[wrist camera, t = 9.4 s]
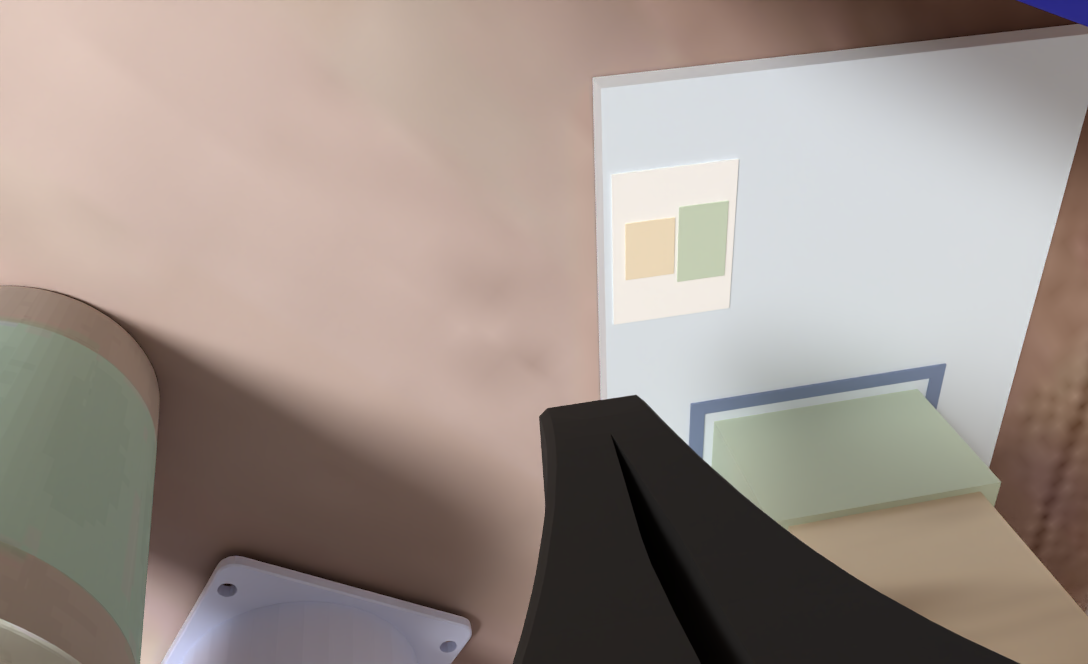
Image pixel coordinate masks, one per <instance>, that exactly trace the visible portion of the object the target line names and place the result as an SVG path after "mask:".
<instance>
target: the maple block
mask: <svg viewBox="0 0 1088 664" xmlns="http://www.w3.org/2000/svg"><path fill="white" fill-rule="evenodd" d="M788 531H789V532H790V533H791V534H793V535H794V536H795V537H797V538H798V539H799V540H801V541H802V542H803V543H805V544H806V545H808V546H809V547H810V548H812V549H813V550H815V551H816V552H817V553H819V554H820V555H822V556H824V557H825V558H827V559H828V560H830V561H831V562H833V563H834V564H836V565H837V566H839V567H840V568H842V569H843V570H845V571H846V572H848V573H849V574H851V575H852V576H854V577H855V578H857V579H859V580H860V581H862V582H864V583H865V584H867V585H869V586H870V587H872V588H874V589H875V590H877V591H879V592H880V593H882V594H884V595H886V596H888V597H889V598H891V599H893V600H895V601H897V602H898V603H900V604H902V605H904V606H906V607H907V608H909V609H911V610H913V611H915V612H916V613H918V614H920V615H922V616H924V617H925V618H927V619H929V620H931V621H933V622H935V623H937V624H939V625H941V626H943V627H945V628H946V629H948V630H950V631H952V632H954V633H956V634H958V635H960V636H962V637H964V638H966V639H969V640H971V641H973V642H975V643H977V644H979V645H981V646H984V647H986V648H988V649H990V650H992V651H994V652H996V653H999V654H1001V655H1003V656H1005V657H1007V658H1009V659H1011V660H1014V661H1016V662H1018V663H1020V664H1088V616H1087V615H1086V614H1085V613H1084V611H1083V610H1082V609H1081V608H1080V607H1079V606H1078V604H1077V603H1076V602H1075V601H1074V600H1073V599H1072V597H1071V596H1070V595H1069V594H1068V593H1067V592H1066V590H1065V589H1064V588H1063V587H1062V586H1061V585H1060V583H1059V582H1058V581H1057V580H1056V579H1055V578H1054V576H1053V575H1052V574H1051V573H1050V572H1049V571H1048V569H1047V568H1046V567H1045V566H1044V565H1043V564H1042V563H1041V561H1040V560H1039V559H1038V558H1037V557H1036V556H1035V554H1034V553H1033V552H1032V551H1031V550H1030V549H1029V547H1028V546H1027V545H1026V544H1025V543H1024V542H1023V540H1022V539H1021V538H1020V537H1019V536H1018V535H1017V533H1016V532H1015V531H1014V530H1013V529H1012V528H1011V526H1010V525H1009V524H1008V523H1007V522H1006V521H1005V519H1004V518H1003V517H1002V516H1001V515H1000V514H999V512H998V511H997V510H996V509H995V508H994V507H993V505H992V504H991V503H990V502H989V501H988V500H987V498H986V497H985V496H984V495H983V494H982V493H981V492H974V493H969V494H963V495H958V496H952V497H947V498H942V499H936V500H931V501H925V502H920V503H914V504H909V505H903V506H898V507H892V508H887V509H881V510H876V511H870V512H865V513H859V514H854V515H848V516H843V517H837V518H832V519H826V520H821V521H816V522H810V523H805V524H799V525H794V526H788Z"/></svg>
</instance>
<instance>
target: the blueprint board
mask: <svg viewBox="0 0 1088 664" xmlns="http://www.w3.org/2000/svg"><path fill="white" fill-rule="evenodd" d="M1087 107H1088V27H1087V26H1084V25H1081V24H1073V25H1064V26H1055V27H1045V28H1036V29H1027V30H1018V31H1009V32H1000V33H991V34H982V35H973V36H964V37H955V38H946V39H937V40H928V41H919V42H910V43H901V44H891V45H882V46H873V47H864V48H855V49H846V50H837V51H828V52H819V53H810V54H801V55H792V56H783V57H774V58H765V59H756V60H746V61H737V62H728V63H719V64H710V65H701V66H692V67H683V68H674V69H665V70H656V71H647V72H638V73H629V74H620V75H611V76H602V77H593V116H594V156H595V196H596V237H597V277H598V317H599V357H600V398H601V400H605V399H611V398H618V397H624V396H631V395H637V396H639V397H640V398H641V399H642V400H644V401H645V402H646V403H647V404H648V405H649V406H650V407H651V408H652V409H653V411H654V412H655V413H656V414H657V415H658V416H659V417H660V418H661V419H662V420H663V421H664V422H665V423H666V424H667V425H668V426H669V427H670V428H671V429H672V430H673V431H674V432H675V433H676V434H677V435H678V436H679V437H680V438H681V439H682V440H683V441H684V442H685V443H686V444H687V445H689V446H690V447H691V448H692V449H693V450H694V451H695V452H696V453H697V454H698V455H699V456H700V457H701V458H702V459H703V460H704V461H705V462H706V463H708V464H709V465H710V466H712V449H713V432H714V421H720V420H726V419H732V418H739V417H745V416H751V415H757V414H764V413H770V412H776V411H782V410H789V409H795V408H801V407H807V406H814V405H820V404H826V403H832V402H838V401H845V400H851V399H857V398H863V397H870V396H876V395H882V394H888V393H895V392H901V391H907V390H913V389H918V390H919V391H920V392H921V393H922V394H923V396H924V397H925V398H926V399H927V400H928V401H929V402H930V403H931V404H932V406H933V407H934V408H935V409H936V410H937V411H938V412H939V413H940V414H941V416H942V417H943V418H944V419H945V420H946V421H947V422H948V423H949V424H950V426H951V427H952V428H953V429H954V430H955V431H956V432H957V433H958V434H959V436H960V437H961V438H962V439H963V440H964V441H965V442H966V443H967V444H968V446H969V447H970V448H971V449H972V450H973V451H974V452H975V453H976V454H977V456H978V457H979V458H980V459H981V460H982V461H983V462H984V463H985V464H986V466H987V467H988V468H989V466H990V463H991V459H992V455H993V452H994V448H995V444H996V441H997V437H998V433H999V430H1000V426H1001V422H1002V419H1003V415H1004V411H1005V408H1006V404H1007V400H1008V397H1009V393H1010V389H1011V386H1012V382H1013V378H1014V375H1015V371H1016V367H1017V364H1018V360H1019V356H1020V353H1021V349H1022V345H1023V342H1024V338H1025V334H1026V331H1027V327H1028V323H1029V320H1030V316H1031V312H1032V309H1033V305H1034V301H1035V298H1036V294H1037V290H1038V287H1039V283H1040V279H1041V276H1042V272H1043V268H1044V265H1045V261H1046V257H1047V254H1048V250H1049V246H1050V243H1051V239H1052V235H1053V232H1054V228H1055V224H1056V221H1057V217H1058V213H1059V210H1060V206H1061V202H1062V199H1063V195H1064V191H1065V188H1066V184H1067V180H1068V177H1069V173H1070V169H1071V166H1072V162H1073V158H1074V155H1075V151H1076V147H1077V144H1078V140H1079V136H1080V133H1081V129H1082V125H1083V122H1084V118H1085V114H1086V111H1087Z"/></svg>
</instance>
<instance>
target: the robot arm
mask: <svg viewBox="0 0 1088 664" xmlns="http://www.w3.org/2000/svg"><path fill="white" fill-rule="evenodd" d="M539 420H540V434H541V449H542V463H543V477H544V491H545V518H544V526H543V533H542V539H541V546H540V552H539V558H538V564H537V570H536V576H535V580H534V585H533V590H532V594H531V599H530V603H529V607H528V611H527V615H526V619H525V623H524V627H523V631H522V635H521V638H520V641H519V645H518V648H517V651H516V655H515V658H514V661H513V664H1020V663H1018V662H1016V661H1014V660H1011V659H1009V658H1007V657H1005V656H1003V655H1001V654H999V653H996V652H994V651H992V650H990V649H988V648H986V647H984V646H981V645H979V644H977V643H975V642H973V641H971V640H969V639H966V638H964V637H962V636H960V635H958V634H956V633H954V632H952V631H950V630H948V629H946V628H945V627H943V626H941V625H939V624H937V623H935V622H933V621H931V620H929V619H927V618H925V617H924V616H922V615H920V614H918V613H916V612H915V611H913V610H911V609H909V608H907V607H906V606H904V605H902V604H900V603H898V602H897V601H895V600H893V599H891V598H889V597H888V596H886V595H884V594H882V593H880V592H879V591H877V590H875V589H874V588H872V587H870V586H869V585H867V584H865V583H864V582H862V581H860V580H859V579H857V578H855V577H854V576H852V575H851V574H849V573H848V572H846V571H845V570H843V569H842V568H840V567H839V566H837V565H836V564H834V563H833V562H831V561H830V560H828V559H827V558H825V557H824V556H822V555H820V554H819V553H817V552H816V551H815V550H813V549H812V548H810V547H809V546H808V545H806V544H805V543H803V542H802V541H801V540H799V539H798V538H797V537H795V536H794V535H793V534H791V533H790V532H789V531H787V530H786V529H785V528H784V527H782V526H781V525H780V524H778V523H777V522H776V521H775V520H773V519H772V518H771V517H770V516H768V515H767V514H766V513H764V512H763V511H762V510H761V509H759V508H758V507H757V506H756V505H755V504H753V503H752V502H751V501H750V500H749V499H747V498H746V497H745V496H744V495H743V494H741V493H740V492H739V491H738V490H737V489H736V488H735V487H733V486H732V485H731V484H730V483H729V482H728V481H727V480H726V479H724V478H723V477H722V476H721V475H720V474H719V473H718V472H716V471H715V470H714V469H713V468H712V467H711V466H710V465H709V464H708V463H706V462H705V461H704V460H703V459H702V458H701V457H700V456H699V455H698V454H697V453H696V452H695V451H694V450H693V449H692V448H691V447H690V446H689V445H687V444H686V443H685V442H684V441H683V440H682V439H681V438H680V437H679V436H678V435H677V434H676V433H675V432H674V431H673V430H672V429H671V428H670V427H669V426H668V425H667V424H666V423H665V422H664V421H663V420H662V419H661V418H660V417H659V416H658V415H657V414H656V413H655V412H654V411H653V409H652V408H651V407H650V406H649V405H648V404H647V403H646V402H645V401H644V400H642V399H641V398H640V397H639V396H637V395H631V396H624V397H618V398H611V399H605V400H598V401H592V402H585V403H579V404H573V405H566V406H560V407H553V408H547V409H546V410H545V411H544V412H543V413H542V414H541V415H540V416H539ZM225 583H229V584H233V585H232V586H224V585H222V584H225ZM471 635H472V630H471V624H470V622H469V620H468V619H466V618H464V617H462V616H458V615H454V614H451V613H447V612H443V611H440V610H436V609H432V608H429V607H425V606H421V605H418V604H414V603H410V602H407V601H403V600H400V599H396V598H392V597H389V596H385V595H381V594H378V593H374V592H370V591H367V590H363V589H359V588H356V587H352V586H348V585H345V584H341V583H337V582H334V581H330V580H326V579H323V578H319V577H316V576H312V575H308V574H305V573H301V572H297V571H294V570H290V569H286V568H283V567H279V566H275V565H272V564H268V563H264V562H261V561H257V560H253V559H250V558H246V557H242V556H230V557H227V558H225V559H222V560H221V561H220V562H219V564H218V565H217V567H216V568H215V570H214V572H213V574H212V575H211V577H210V579H209V581H208V582H207V584H206V586H205V588H204V589H203V591H202V593H201V594H200V596H199V598H198V600H197V601H196V603H195V605H194V607H193V608H192V610H191V612H190V614H189V615H188V617H187V619H186V621H185V622H184V624H183V626H182V628H181V629H180V631H179V633H178V634H177V636H176V638H175V640H174V641H173V643H172V645H171V647H170V648H169V650H168V652H167V654H166V655H165V657H164V659H163V661H162V662H161V664H451V663H452V662H453V660H454V659H455V658H456V657H457V655H458V654H459V653H460V651H461V650H462V649H463V647H464V646H465V645H466V643H467V642H468V641H469V639H470V638H471ZM446 641H450V642H446Z"/></svg>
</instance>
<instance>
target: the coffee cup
mask: <svg viewBox="0 0 1088 664" xmlns="http://www.w3.org/2000/svg"><path fill="white" fill-rule="evenodd" d="M159 407H160V394H159V387H158V382H157V378H156V375H155V372H154V370H153V367H152V365H151V363H150V361H149V360H148V358H147V356H146V354H145V353H144V351H143V350H142V348H141V347H140V346H139V345H138V343H137V342H136V341H135V340H134V339H133V338H132V337H131V335H130V334H128V333H127V332H126V331H125V330H124V329H123V328H122V327H121V326H120V325H118V324H117V323H116V322H115V321H113V320H112V319H111V318H109V317H108V316H106V315H104V314H103V313H101V312H100V311H98V310H96V309H94V308H93V307H91V306H89V305H87V304H85V303H83V302H80V301H78V300H75V299H73V298H70V297H67V296H65V295H62V294H58V293H54V292H51V291H46V290H42V289H36V288H30V287H22V286H0V664H140V656H141V643H142V631H143V618H144V605H145V593H146V580H147V567H148V554H149V542H150V529H151V516H152V503H153V491H154V478H155V465H156V452H157V436H158V422H159Z"/></svg>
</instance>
